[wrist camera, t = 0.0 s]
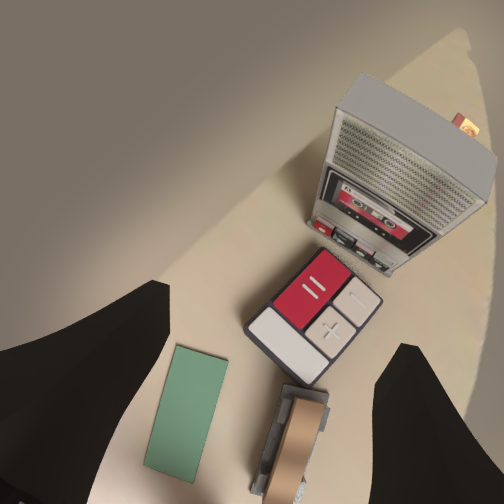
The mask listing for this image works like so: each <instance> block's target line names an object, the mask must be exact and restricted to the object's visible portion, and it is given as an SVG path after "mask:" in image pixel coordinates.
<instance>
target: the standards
mask: <svg viewBox="0 0 504 504" xmlns="http://www.w3.org/2000/svg"><path fill="white" fill-rule="evenodd" d="M294 396H297V397H301V398H306V399H311V400H316V401H320V402H322V403H324V404H325V408H324V411H323V415H322V418H321V421H320V425H319V428H318V431H317V435H318V432H319V431H322V432H324V428H325V425H326V422H327V418H328V415H329V411H330V408H329V407H328V406H326V405H327V402H328V398H329V394H328V393H323V392H318V391H313V390H308V389H304V388H299V387H295V386H291V385H286V384H283V388H282V391H281V395H280V398H279V402H278V405H277V409H276V412H275V416H274V419H273V422H272V426H271V429H270V432H269V435H268V439H267V442H266V445H265V448H264V451H263V454H262V457H261V461H260V464H259V467H258V470H257V473H256V476H255V479H254V482H253V485H252V487H251V490H250V493H251V494H255V495H260V496H263V493H264V491H265V488H266V485H267V482H268V479H269V476H270V473H271V470H272V467H273V464H274V461H275V458H276V455H277V452H278V449H279V446H280V443H281V440H282V436H283V433H284V430H285V427H286V423H287V420H288V417H289V413H290V410H291V406H292V403H293V400H294ZM317 435H316V438H315V441H314V444H313V447H312V450H311V453H310V456H309V459H308V462H307V465H306V468H305V471H304V474H303V477H302V480H301V482H300V485H299V488H298V491H297V493H296V496H295V499H294V501H293V502H299V501H300V499H301V496H302V493H303V491H304V488H305V485H306V480H305V478H304V475H305V472H306V469H307V466H308V463H309V460H310V457H311V454H312V451H313V448H314V445H315V442H316V439H317Z"/></svg>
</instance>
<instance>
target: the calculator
mask: <svg viewBox="0 0 504 504" xmlns="http://www.w3.org/2000/svg"><path fill="white" fill-rule="evenodd" d="M382 303H383V299H382V298H381V297H380V296H379V295H378V294H377V293H375V292H374V291H373V290H372V289H371V288H370V287H369V286H368V285H367V284H366V283H365V282H363V281H362V280H361V279H360V278H359V277H358V276H357V275H356V274H355V273H354V272H352V271H351V270H350V269H349V268H348V267H347V266H346V265H345V264H344V263H342V262H341V261H340V260H339V259H338V258H337V257H336V256H335V255H333V254H332V253H331V252H330V251H329V250H328V249H327V248H325V247H322V248H320V249H319V250H318V251H317V253H316V254H315V255H314V256H313V257H312V258H311V259H310V260H309V261H308V262H307V263H306V264H305V265H304V266H303V267H302V268H301V269H300V270H299V271H298V272H297V273H296V274H295V275H294V276H293V277H292V278H291V279H290V280H289V281H288V283H287V284H286V285H285V286H284V287H283V288H282V289H281V290H280V291H279V292H278V293H277V294H276V295H275V296H274V297H273V298H272V299H271V300H270V301H269V302H268V303H267V304H266V305H265V306H264V307H263V308H262V309H261V310H260V311H259V312H258V313H257V314H256V315H255V316H254V317H253V318H252V319H251V320H250V321H249V322H248V323H247V324H246V325H245V326H244V333H245V335H246V336H247V337H248V338H249V339H250V340H251V341H252V342H254V343H255V344H256V345H257V346H258V347H259V348H260V349H261V350H262V351H263V352H264V353H265V354H266V355H267V356H268V357H269V358H270V359H271V360H272V361H274V362H275V363H276V364H277V365H278V366H279V367H280V368H281V369H282V370H283V371H284V372H285V373H286V374H288V375H289V376H290V377H291V378H292V379H293V380H294V381H295V382H296V383H297V384H298V385H300V386H301V387H302V388H306V389H309V388H311V387H312V386H313V385H314V384H315V383H316V382H317V381H318V380H319V378H320V377H321V376H322V375H323V374H324V373H325V372H326V371H327V370H328V369H329V367H330V366H331V365H332V364H333V363H334V362H335V361H336V360H337V358H338V357H339V356H340V355H341V354H342V353H343V352H344V350H345V349H346V348H347V347H348V346H349V345H350V343H351V342H352V341H353V340H354V339H355V337H356V336H357V335H358V334H359V333H360V331H361V330H362V329H363V328H364V326H365V325H366V324H367V323H368V321H369V320H370V319H371V318H372V316H373V315H374V314H375V313H376V311H377V310H378V309H379V307H380V306H381V305H382Z"/></svg>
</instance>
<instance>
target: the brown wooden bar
mask: <svg viewBox="0 0 504 504" xmlns="http://www.w3.org/2000/svg"><path fill="white" fill-rule="evenodd" d="M324 408H325V404H324V403H322V402H320V401H316V400H311V399H306V398H301V397H297V396H294V400H293V403H292V406H291V410H290V413H289V417H288V420H287V423H286V427H285V430H284V433H283V436H282V440H281V443H280V446H279V449H278V452H277V455H276V458H275V461H274V464H273V467H272V470H271V473H270V476H269V479H268V482H267V485H266V488H265V491H264V493H263V496H262V504H293V501H294V499H295V496H296V493H297V491H298V488H299V485H300V482H301V480H302V477H303V474H304V471H305V468H306V465H307V462H308V459H309V456H310V453H311V450H312V447H313V444H314V441H315V438H316V435H317V431H318V428H319V425H320V421H321V418H322V415H323V411H324Z"/></svg>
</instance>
